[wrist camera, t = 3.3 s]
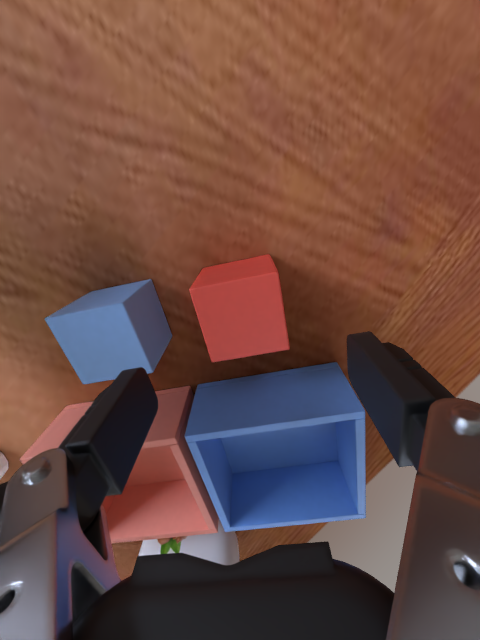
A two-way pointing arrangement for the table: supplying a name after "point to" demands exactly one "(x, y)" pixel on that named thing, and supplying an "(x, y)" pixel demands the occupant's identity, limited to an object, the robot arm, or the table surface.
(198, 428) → the blue bin
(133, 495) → the red bin
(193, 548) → the spread jar
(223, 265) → the red block
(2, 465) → the shot glass
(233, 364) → the table surface
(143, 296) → the blue block
